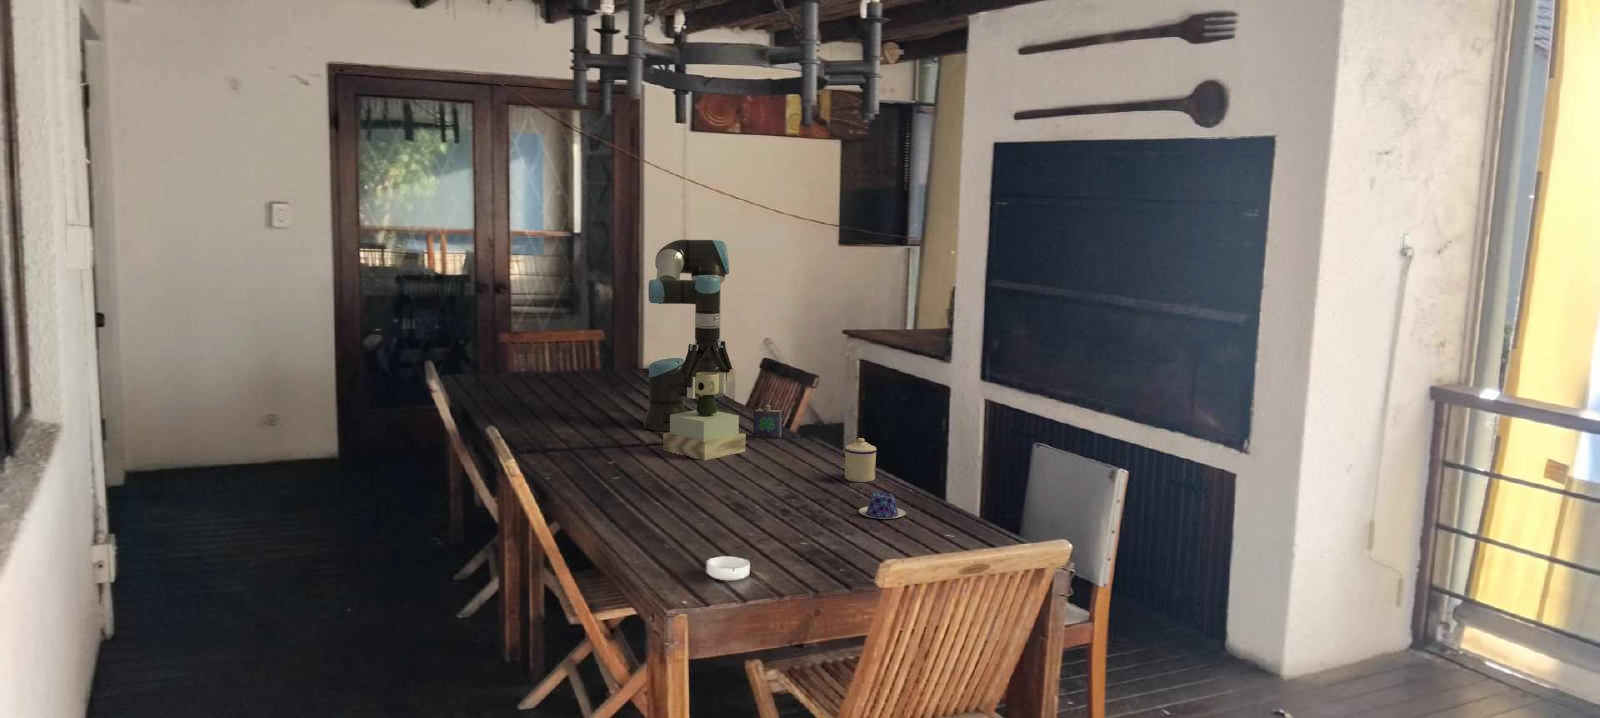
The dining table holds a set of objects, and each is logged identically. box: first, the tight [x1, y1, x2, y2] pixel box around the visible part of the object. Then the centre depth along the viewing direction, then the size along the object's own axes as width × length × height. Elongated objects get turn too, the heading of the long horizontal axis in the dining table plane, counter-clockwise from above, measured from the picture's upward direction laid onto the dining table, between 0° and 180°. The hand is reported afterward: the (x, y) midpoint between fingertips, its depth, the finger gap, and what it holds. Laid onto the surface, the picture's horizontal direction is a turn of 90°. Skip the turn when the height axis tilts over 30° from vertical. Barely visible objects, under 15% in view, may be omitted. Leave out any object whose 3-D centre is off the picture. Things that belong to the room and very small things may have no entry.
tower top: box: [669, 409, 740, 441], centre depth 368 cm, size 15×15×6 cm
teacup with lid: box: [844, 437, 878, 483], centre depth 339 cm, size 12×9×12 cm
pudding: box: [858, 491, 907, 520], centre depth 302 cm, size 12×12×5 cm
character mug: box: [695, 372, 719, 416], centre depth 367 cm, size 11×7×13 cm, turn 28°
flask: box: [753, 404, 783, 439], centre depth 392 cm, size 9×3×11 cm, turn 87°
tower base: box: [662, 432, 747, 461], centre depth 369 cm, size 18×18×6 cm
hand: (706, 395), depth 366 cm, fingers open, 13 cm apart
